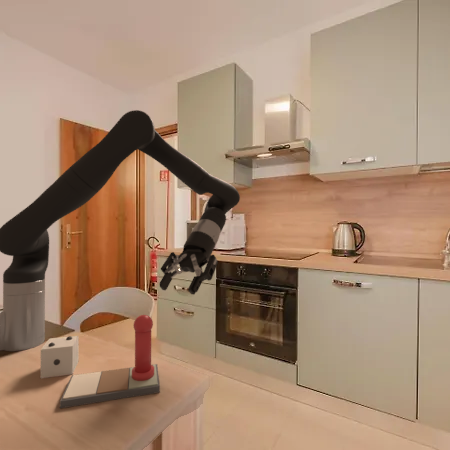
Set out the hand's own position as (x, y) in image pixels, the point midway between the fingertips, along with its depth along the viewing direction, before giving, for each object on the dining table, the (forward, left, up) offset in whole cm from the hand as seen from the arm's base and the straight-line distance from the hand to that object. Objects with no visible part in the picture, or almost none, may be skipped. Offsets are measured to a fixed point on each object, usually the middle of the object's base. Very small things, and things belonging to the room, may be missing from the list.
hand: (176, 290), depth 67 cm
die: (-25, +3, -17) cm, 30 cm away
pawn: (-8, -7, -15) cm, 18 cm away
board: (-13, -7, -17) cm, 22 cm away
